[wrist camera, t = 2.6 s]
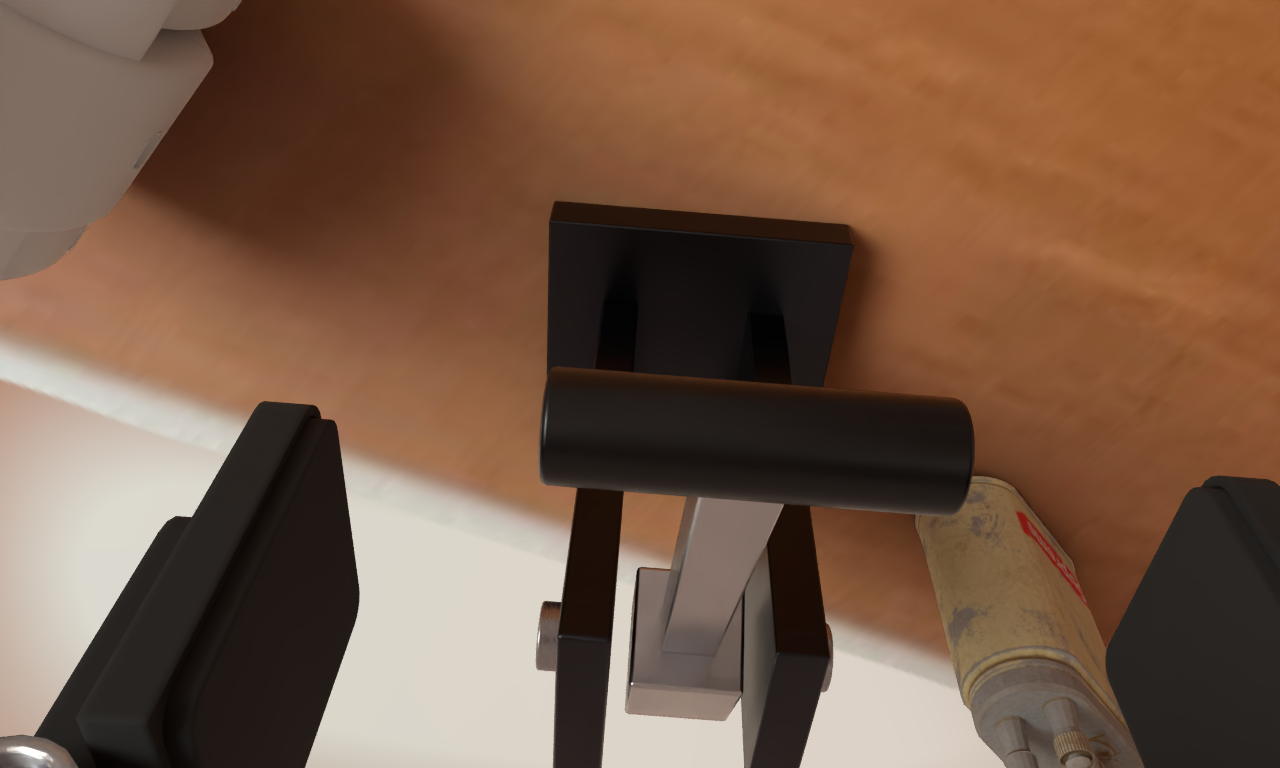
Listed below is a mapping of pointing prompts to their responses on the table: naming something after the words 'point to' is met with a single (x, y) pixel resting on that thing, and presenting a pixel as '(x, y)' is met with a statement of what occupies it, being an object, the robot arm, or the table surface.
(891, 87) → the table surface
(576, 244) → the black upright stand
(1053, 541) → the lighter
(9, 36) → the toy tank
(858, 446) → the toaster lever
